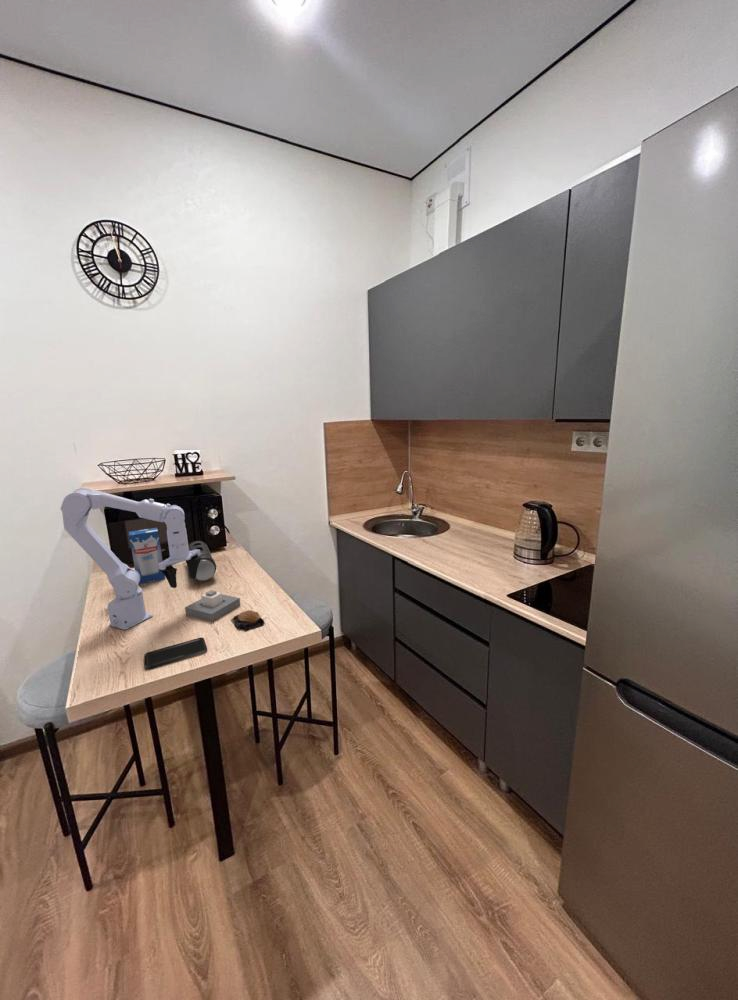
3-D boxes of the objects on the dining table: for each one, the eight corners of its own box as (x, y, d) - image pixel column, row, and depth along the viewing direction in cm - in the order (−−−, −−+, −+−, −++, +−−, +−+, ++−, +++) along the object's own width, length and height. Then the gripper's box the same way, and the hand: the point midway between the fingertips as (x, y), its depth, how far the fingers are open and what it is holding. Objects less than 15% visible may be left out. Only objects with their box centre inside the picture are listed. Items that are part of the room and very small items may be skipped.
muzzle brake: (210, 560, 181) (207, 538, 179) (218, 581, 157) (215, 556, 154) (187, 564, 177) (184, 542, 175) (192, 587, 152) (188, 561, 150)
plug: (214, 613, 130) (211, 595, 129) (203, 611, 132) (200, 593, 131) (223, 608, 134) (221, 590, 132) (212, 605, 136) (210, 588, 135)
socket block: (212, 621, 125) (211, 614, 125) (185, 614, 130) (184, 607, 130) (240, 604, 136) (239, 598, 135) (214, 599, 141) (213, 592, 140)
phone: (144, 653, 108) (203, 636, 115) (144, 657, 108) (203, 640, 115) (144, 668, 101) (207, 649, 108) (145, 672, 101) (208, 653, 109)
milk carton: (164, 573, 166) (157, 527, 162) (165, 578, 161) (158, 530, 157) (136, 579, 161) (128, 531, 157) (137, 584, 156) (128, 535, 152)
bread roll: (228, 622, 126) (227, 611, 125) (254, 613, 131) (253, 602, 130) (241, 635, 118) (240, 624, 117) (268, 625, 123) (267, 614, 122)
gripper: (166, 551, 121) (172, 593, 124) (204, 538, 134) (209, 576, 137) (151, 549, 125) (157, 589, 127) (190, 536, 137) (195, 573, 140)
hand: (183, 582), depth 132 cm, fingers open, 7 cm apart
